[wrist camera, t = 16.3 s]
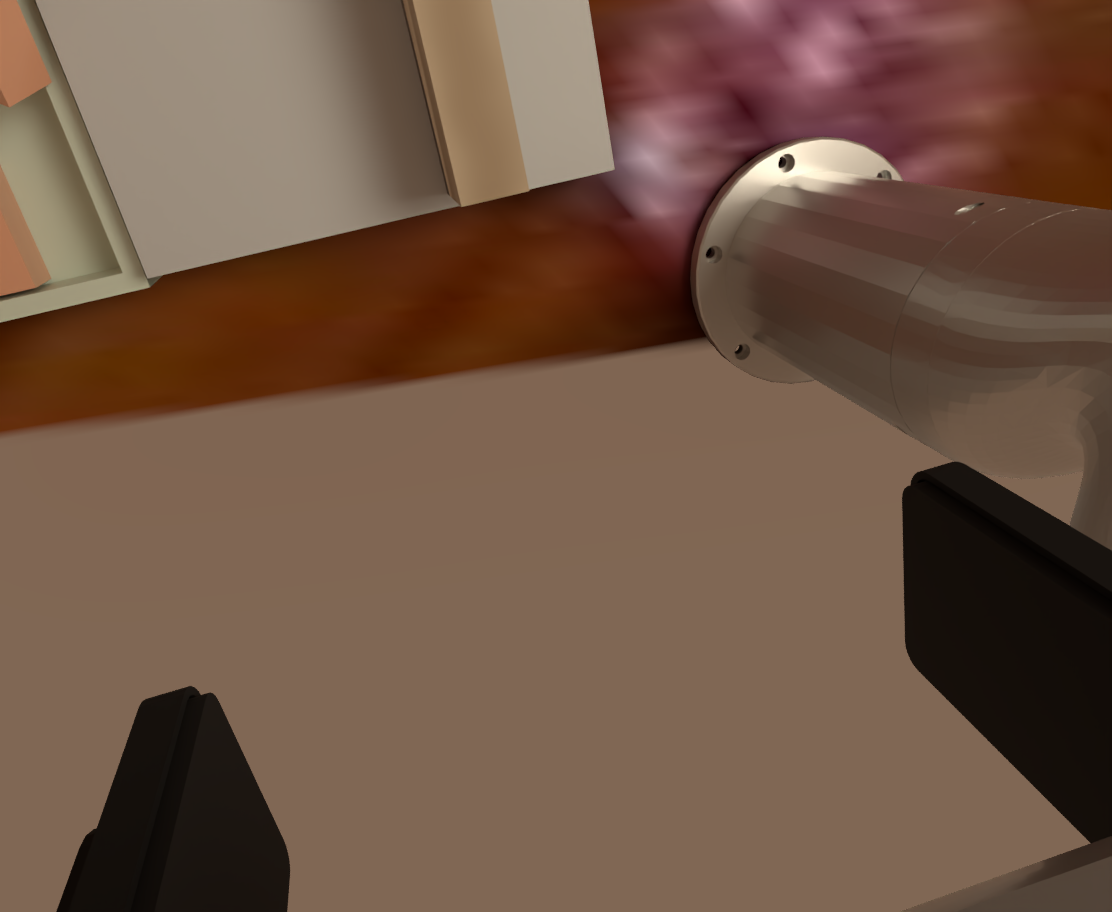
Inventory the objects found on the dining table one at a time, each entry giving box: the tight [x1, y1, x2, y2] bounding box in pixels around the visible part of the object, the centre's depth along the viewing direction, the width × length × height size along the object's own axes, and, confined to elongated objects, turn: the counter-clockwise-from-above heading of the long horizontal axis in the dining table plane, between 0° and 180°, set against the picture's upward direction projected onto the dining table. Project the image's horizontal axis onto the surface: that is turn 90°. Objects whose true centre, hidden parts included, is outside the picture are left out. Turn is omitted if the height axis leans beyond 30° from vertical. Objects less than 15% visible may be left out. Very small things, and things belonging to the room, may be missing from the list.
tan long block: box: [401, 0, 529, 207], centre depth 31 cm, size 3×13×5 cm, turn 11°
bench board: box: [35, 0, 615, 279], centre depth 34 cm, size 20×14×4 cm
